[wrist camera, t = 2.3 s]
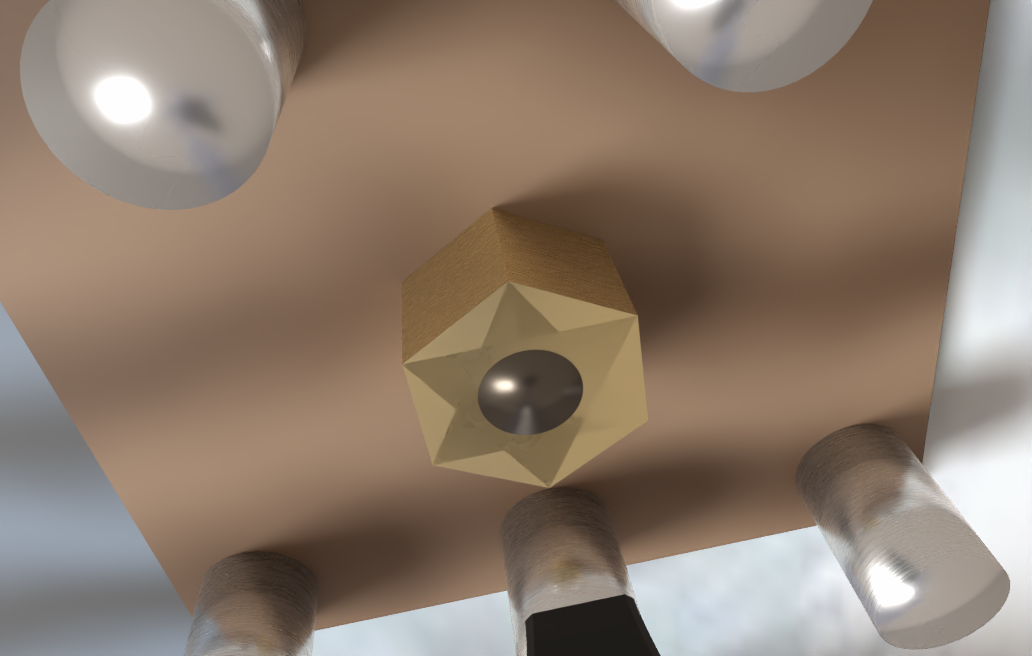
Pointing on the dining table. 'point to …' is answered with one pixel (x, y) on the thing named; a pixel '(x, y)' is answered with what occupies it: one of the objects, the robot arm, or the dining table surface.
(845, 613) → the dining table surface
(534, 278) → the brass nut
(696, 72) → the steel spacers
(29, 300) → the spacer board
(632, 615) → the robot arm
